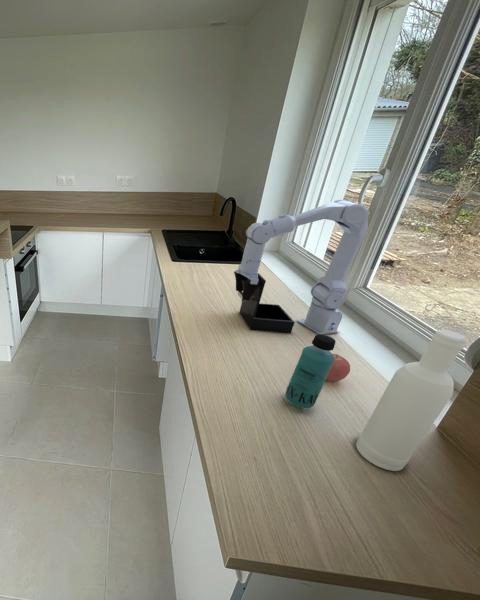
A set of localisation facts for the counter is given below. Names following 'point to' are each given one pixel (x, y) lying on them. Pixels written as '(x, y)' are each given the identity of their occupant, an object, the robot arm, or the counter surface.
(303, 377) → the beverage bottle
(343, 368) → the apple
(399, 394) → the bottle
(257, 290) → the lid
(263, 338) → the counter surface
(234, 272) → the robot arm
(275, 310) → the black square box
